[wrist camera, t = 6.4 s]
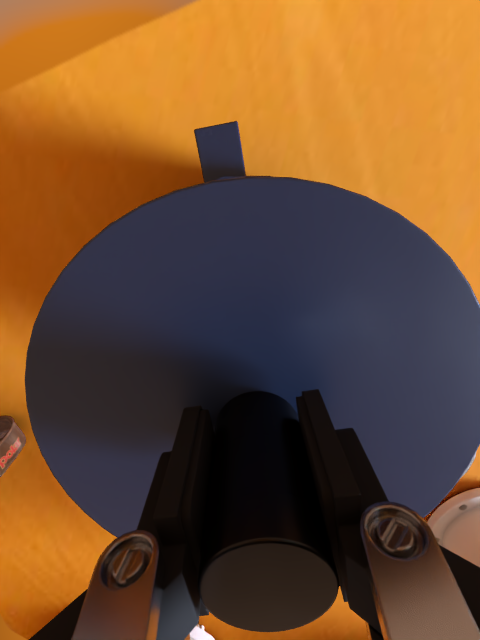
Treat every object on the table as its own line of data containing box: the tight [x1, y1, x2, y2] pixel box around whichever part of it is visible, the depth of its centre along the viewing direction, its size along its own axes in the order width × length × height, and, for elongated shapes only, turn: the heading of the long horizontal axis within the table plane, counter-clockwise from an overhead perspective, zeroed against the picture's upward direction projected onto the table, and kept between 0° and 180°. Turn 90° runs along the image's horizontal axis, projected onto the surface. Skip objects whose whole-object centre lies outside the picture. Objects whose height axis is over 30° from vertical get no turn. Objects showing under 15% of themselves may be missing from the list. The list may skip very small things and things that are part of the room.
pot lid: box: [25, 176, 480, 632], centre depth 9 cm, size 16×16×6 cm
